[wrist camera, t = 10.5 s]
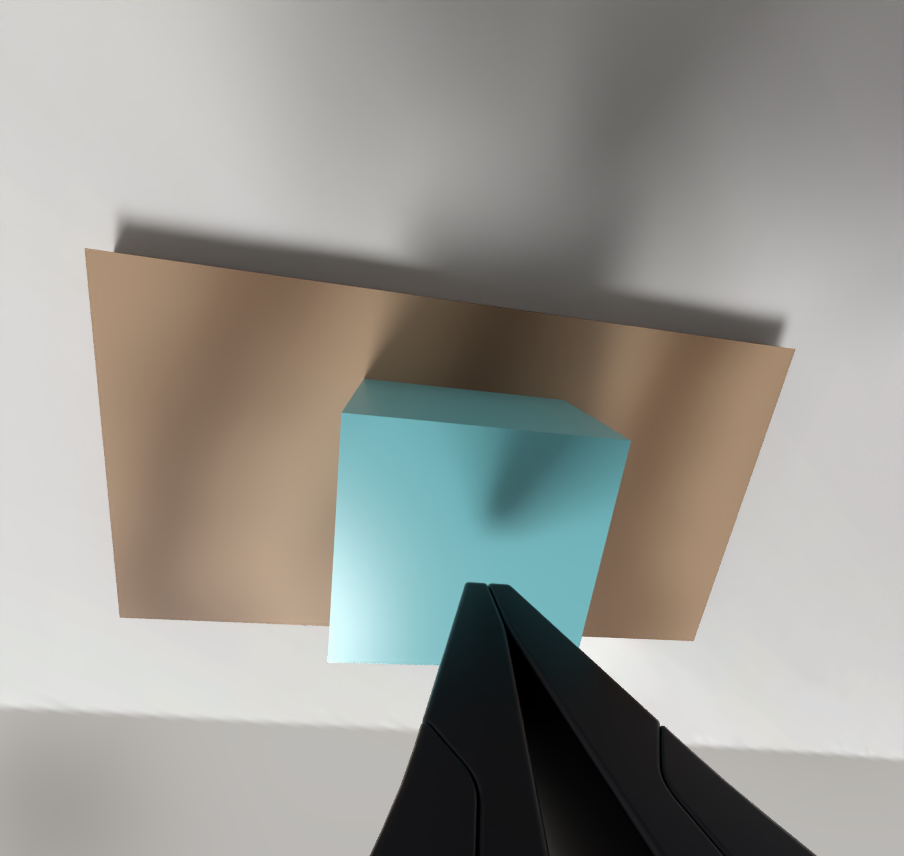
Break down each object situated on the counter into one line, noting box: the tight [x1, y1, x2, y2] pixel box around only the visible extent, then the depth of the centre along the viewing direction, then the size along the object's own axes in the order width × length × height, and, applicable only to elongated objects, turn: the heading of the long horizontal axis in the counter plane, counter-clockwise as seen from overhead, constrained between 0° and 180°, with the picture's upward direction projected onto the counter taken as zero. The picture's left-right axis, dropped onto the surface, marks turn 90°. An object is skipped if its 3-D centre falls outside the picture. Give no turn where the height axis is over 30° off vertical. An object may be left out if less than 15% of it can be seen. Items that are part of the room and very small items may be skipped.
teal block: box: [328, 379, 631, 665], centre depth 11 cm, size 6×6×4 cm
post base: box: [85, 248, 795, 641], centre depth 12 cm, size 20×11×4 cm, turn 83°
